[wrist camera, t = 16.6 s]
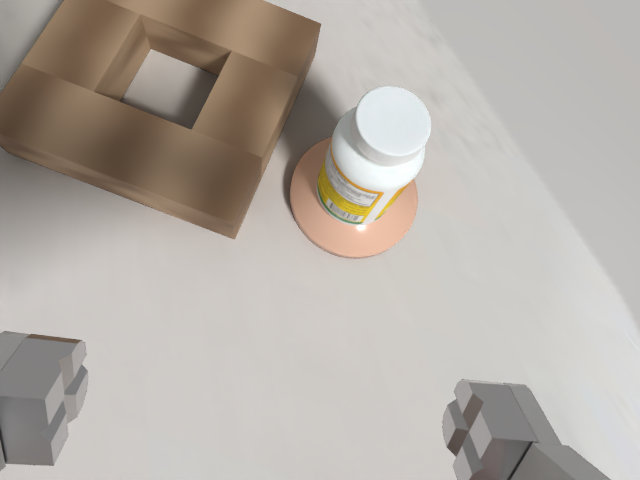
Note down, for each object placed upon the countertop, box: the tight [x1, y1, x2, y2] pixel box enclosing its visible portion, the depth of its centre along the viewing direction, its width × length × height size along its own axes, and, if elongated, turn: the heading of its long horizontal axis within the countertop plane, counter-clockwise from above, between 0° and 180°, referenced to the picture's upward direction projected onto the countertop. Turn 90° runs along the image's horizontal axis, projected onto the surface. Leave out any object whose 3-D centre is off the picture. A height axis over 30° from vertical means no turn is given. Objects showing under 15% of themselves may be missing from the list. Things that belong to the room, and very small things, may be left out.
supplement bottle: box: [317, 86, 431, 226], centre depth 29 cm, size 5×5×10 cm
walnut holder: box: [0, 0, 321, 239], centre depth 33 cm, size 16×16×4 cm
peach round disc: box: [290, 137, 418, 259], centre depth 34 cm, size 9×9×1 cm
